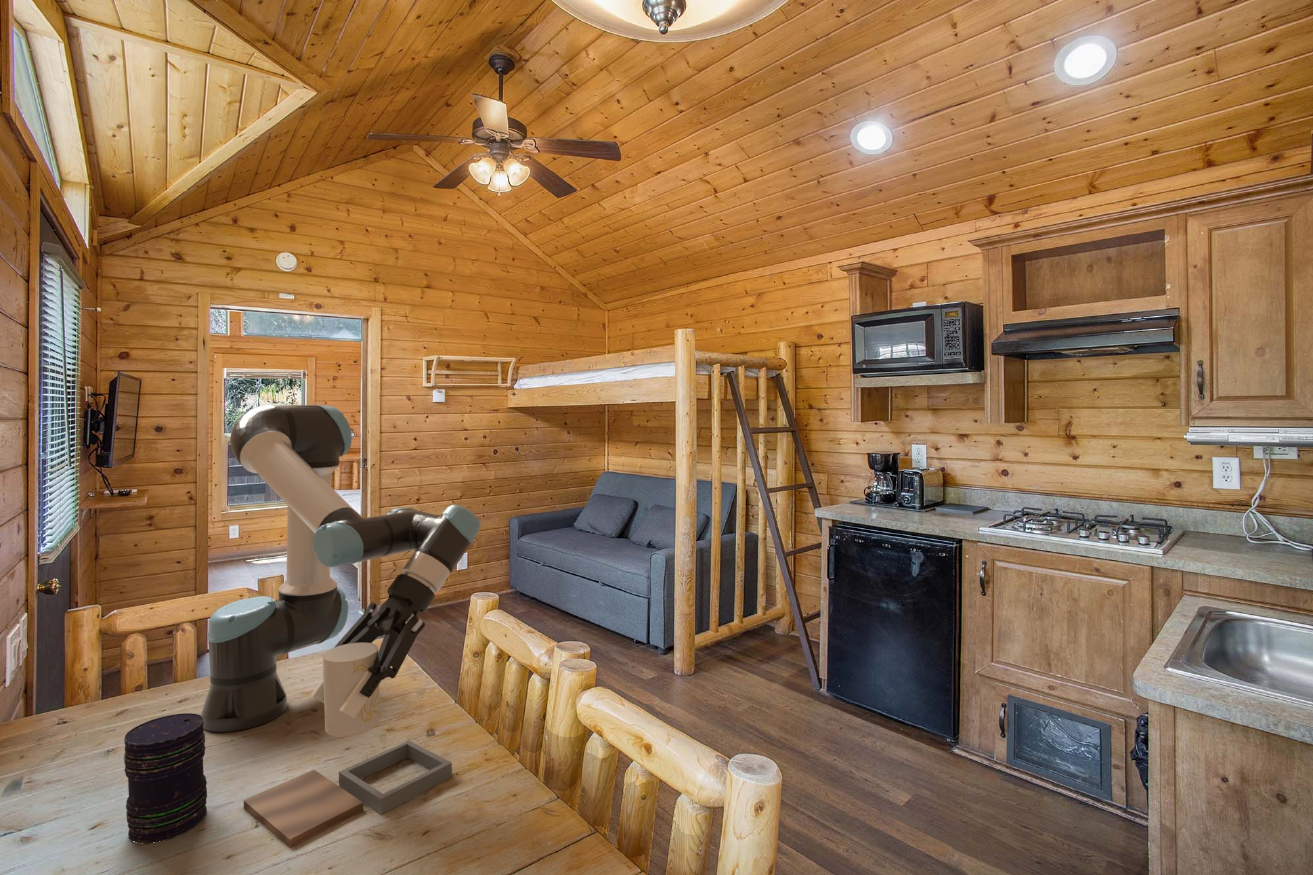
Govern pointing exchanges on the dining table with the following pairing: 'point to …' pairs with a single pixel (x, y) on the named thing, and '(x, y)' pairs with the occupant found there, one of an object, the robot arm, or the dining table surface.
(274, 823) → the walnut board
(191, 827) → the dark purple cylinder
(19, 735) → the dining table surface
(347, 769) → the square collar
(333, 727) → the cup
